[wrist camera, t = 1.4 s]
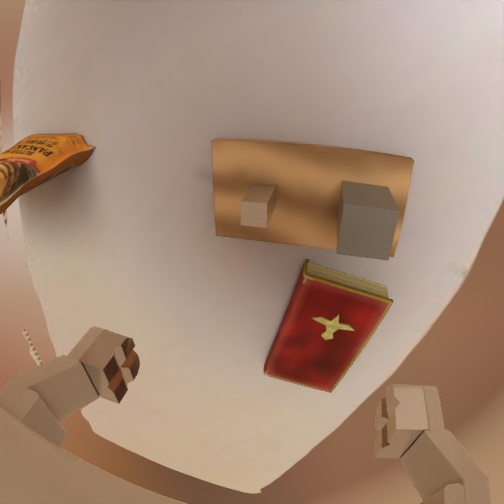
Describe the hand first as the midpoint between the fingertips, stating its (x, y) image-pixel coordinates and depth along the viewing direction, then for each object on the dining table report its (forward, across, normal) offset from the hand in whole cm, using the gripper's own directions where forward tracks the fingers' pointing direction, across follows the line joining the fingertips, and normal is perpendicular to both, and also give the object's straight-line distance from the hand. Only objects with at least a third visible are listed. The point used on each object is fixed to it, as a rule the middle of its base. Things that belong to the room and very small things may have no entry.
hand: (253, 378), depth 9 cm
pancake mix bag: (+29, +37, 0) cm, 47 cm away
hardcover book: (+31, -4, +24) cm, 39 cm away
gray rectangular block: (+28, -6, +4) cm, 29 cm away
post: (+28, +5, +4) cm, 29 cm away
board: (+29, 0, +4) cm, 29 cm away
